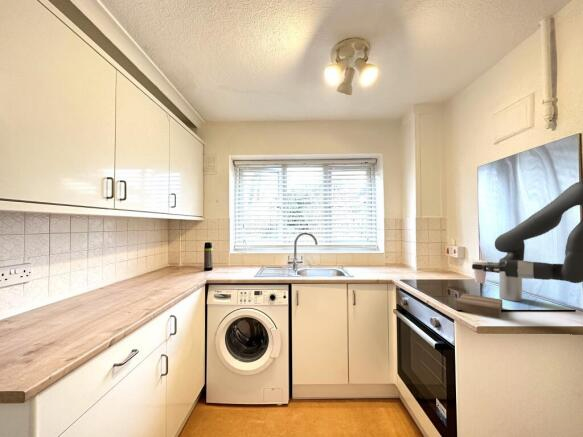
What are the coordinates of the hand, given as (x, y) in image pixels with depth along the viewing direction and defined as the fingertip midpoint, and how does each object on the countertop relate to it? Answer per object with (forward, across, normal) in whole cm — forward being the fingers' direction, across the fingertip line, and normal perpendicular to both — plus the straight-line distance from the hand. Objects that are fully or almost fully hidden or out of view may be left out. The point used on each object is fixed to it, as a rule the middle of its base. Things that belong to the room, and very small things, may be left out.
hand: (473, 265), depth 131 cm
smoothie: (-2, 0, +8) cm, 8 cm away
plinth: (-2, 0, +20) cm, 20 cm away
